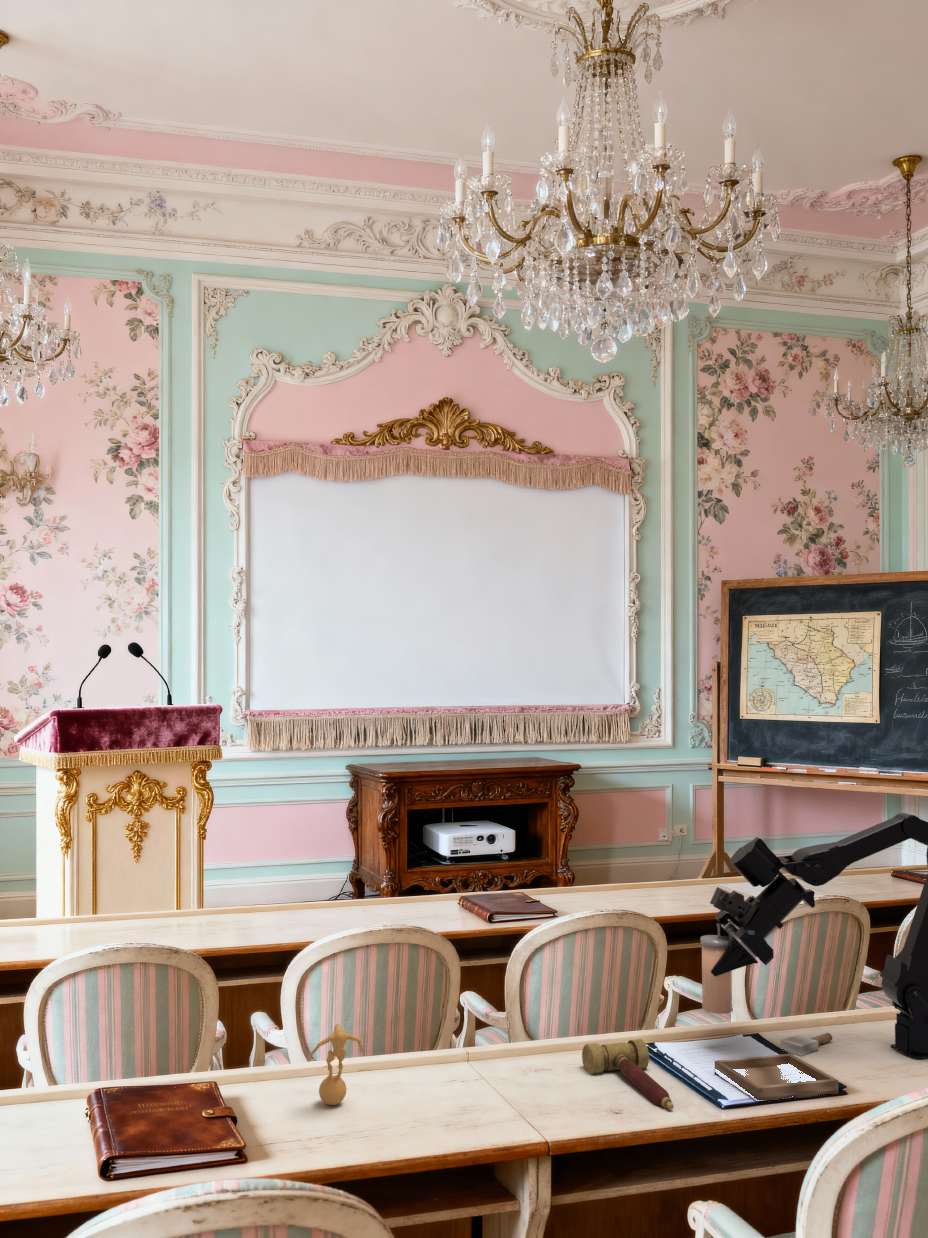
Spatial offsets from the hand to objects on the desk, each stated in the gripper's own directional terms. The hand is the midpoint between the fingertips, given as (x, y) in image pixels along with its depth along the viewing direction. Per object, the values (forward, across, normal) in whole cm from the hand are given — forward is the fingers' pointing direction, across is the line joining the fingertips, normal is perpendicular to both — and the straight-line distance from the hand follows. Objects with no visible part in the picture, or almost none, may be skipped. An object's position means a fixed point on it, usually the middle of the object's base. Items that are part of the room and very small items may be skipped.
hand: (709, 970), depth 181 cm
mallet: (-3, -2, +22) cm, 22 cm away
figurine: (+52, +28, -34) cm, 69 cm away
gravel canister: (+4, 0, +6) cm, 7 cm away
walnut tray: (+5, +16, +14) cm, 22 cm away
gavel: (+20, +18, -1) cm, 27 cm away
